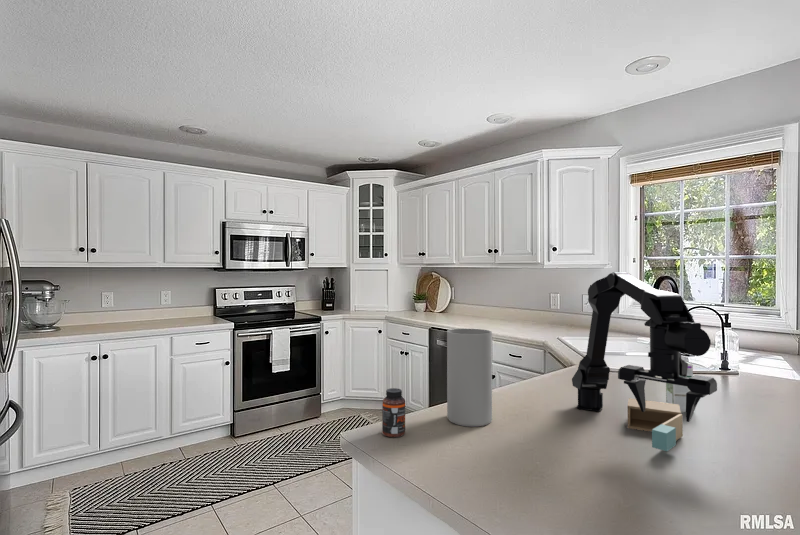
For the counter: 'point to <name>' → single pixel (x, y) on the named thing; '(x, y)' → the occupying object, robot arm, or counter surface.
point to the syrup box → (678, 391)
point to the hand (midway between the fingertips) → (665, 416)
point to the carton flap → (667, 433)
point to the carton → (650, 414)
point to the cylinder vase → (469, 377)
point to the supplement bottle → (393, 413)
